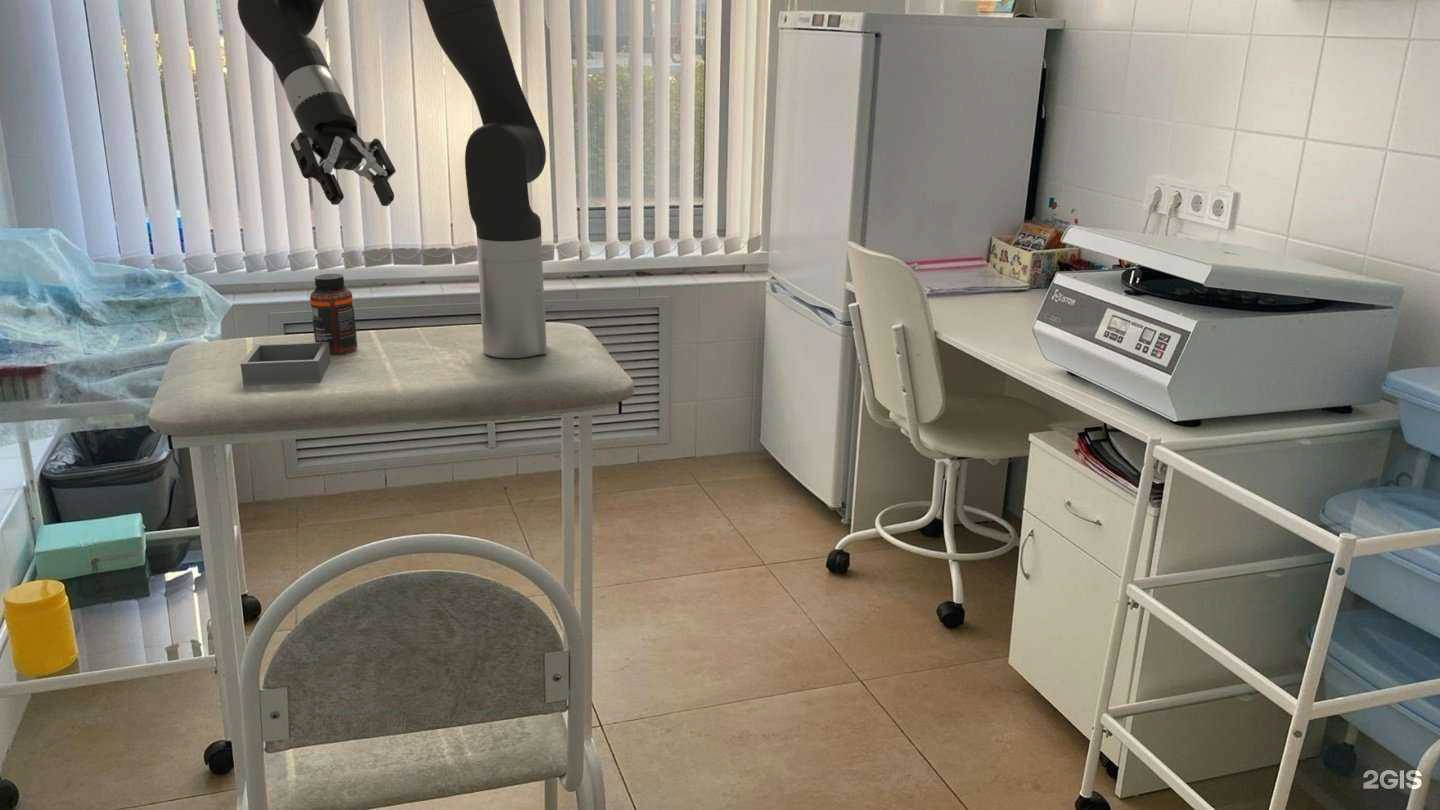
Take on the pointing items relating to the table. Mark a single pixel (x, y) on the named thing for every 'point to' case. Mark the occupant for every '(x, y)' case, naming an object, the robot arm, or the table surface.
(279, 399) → the table surface
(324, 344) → the grey storage bin
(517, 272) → the robot arm
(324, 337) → the supplement bottle
